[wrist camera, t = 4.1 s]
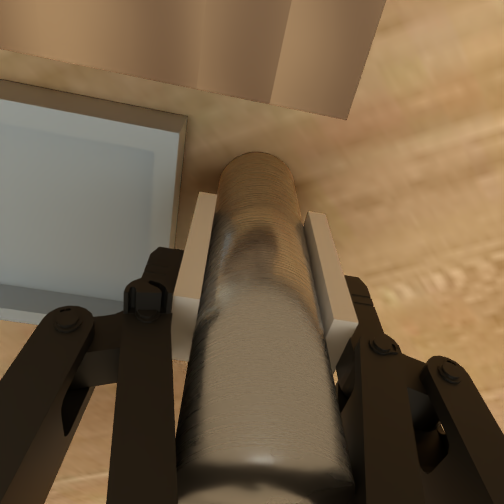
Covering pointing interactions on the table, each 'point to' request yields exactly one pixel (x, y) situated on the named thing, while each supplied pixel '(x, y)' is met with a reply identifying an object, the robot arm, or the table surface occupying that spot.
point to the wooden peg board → (209, 44)
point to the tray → (81, 198)
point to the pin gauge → (260, 358)
